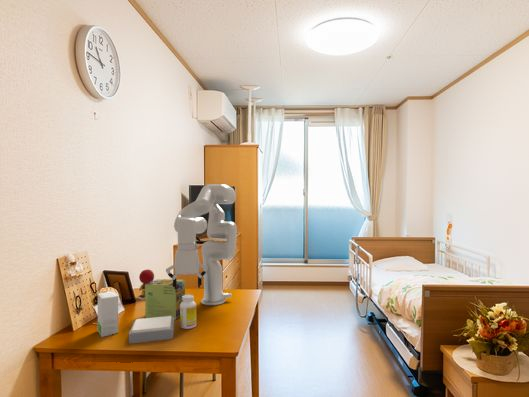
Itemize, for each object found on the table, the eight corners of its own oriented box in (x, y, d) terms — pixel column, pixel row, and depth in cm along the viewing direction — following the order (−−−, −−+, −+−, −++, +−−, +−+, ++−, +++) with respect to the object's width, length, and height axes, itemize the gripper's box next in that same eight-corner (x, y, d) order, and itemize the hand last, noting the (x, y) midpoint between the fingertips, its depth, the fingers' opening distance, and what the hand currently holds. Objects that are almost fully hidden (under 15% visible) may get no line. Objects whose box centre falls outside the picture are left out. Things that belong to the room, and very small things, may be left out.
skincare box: (97, 331, 137) (96, 293, 137) (114, 326, 141) (113, 290, 141) (101, 337, 131) (101, 298, 130) (119, 333, 135) (118, 294, 134)
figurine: (158, 294, 187) (157, 268, 187) (148, 300, 177) (147, 272, 177) (144, 294, 189) (144, 267, 189) (134, 299, 179) (133, 271, 179)
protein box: (176, 320, 148) (175, 285, 148) (144, 318, 151) (144, 284, 151) (186, 312, 158) (185, 279, 158) (156, 310, 161) (156, 278, 161)
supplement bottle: (199, 324, 143) (198, 294, 142) (191, 330, 136) (190, 299, 136) (186, 322, 145) (185, 293, 145) (177, 328, 138) (176, 297, 138)
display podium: (174, 325, 142) (173, 314, 142) (173, 338, 128) (172, 327, 128) (134, 329, 138) (134, 318, 138) (128, 343, 125) (128, 331, 125)
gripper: (207, 245, 146) (207, 284, 146) (166, 247, 142) (166, 287, 141) (208, 247, 138) (208, 288, 138) (165, 249, 134) (165, 291, 134)
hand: (187, 287), depth 140 cm, fingers open, 9 cm apart
